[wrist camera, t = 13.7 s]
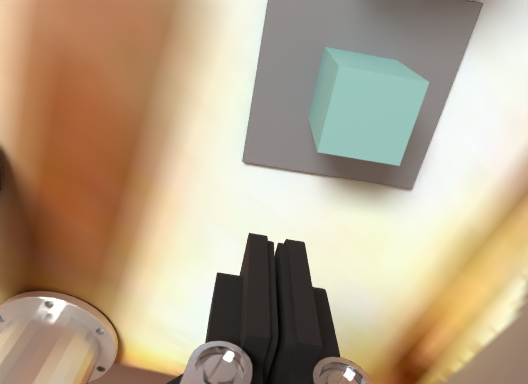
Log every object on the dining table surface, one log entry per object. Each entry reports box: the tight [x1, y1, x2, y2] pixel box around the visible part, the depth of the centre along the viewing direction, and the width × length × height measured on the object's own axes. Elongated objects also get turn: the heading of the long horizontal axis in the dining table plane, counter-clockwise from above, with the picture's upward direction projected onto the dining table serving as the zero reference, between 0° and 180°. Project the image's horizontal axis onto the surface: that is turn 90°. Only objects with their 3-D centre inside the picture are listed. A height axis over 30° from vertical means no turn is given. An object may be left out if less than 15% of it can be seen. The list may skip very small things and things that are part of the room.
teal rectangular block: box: [308, 47, 429, 166], centre depth 27 cm, size 5×5×7 cm
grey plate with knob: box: [242, 0, 483, 189], centre depth 28 cm, size 14×14×6 cm
